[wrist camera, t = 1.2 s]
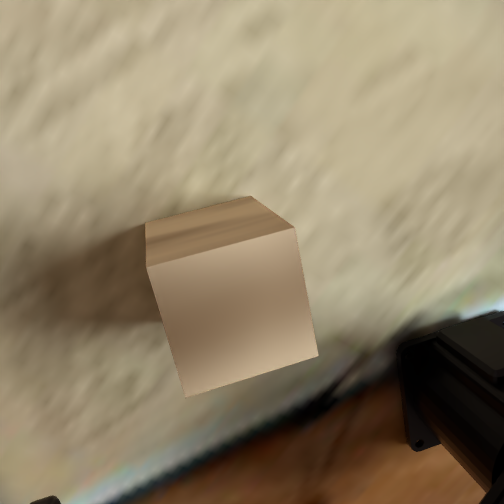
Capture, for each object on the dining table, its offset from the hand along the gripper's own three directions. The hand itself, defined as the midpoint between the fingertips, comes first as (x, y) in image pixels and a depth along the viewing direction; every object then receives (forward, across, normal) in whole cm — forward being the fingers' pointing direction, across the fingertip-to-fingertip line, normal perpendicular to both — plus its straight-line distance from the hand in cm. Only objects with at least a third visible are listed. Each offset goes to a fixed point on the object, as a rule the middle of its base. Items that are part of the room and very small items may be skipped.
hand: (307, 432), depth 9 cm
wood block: (+12, 0, 0) cm, 12 cm away
